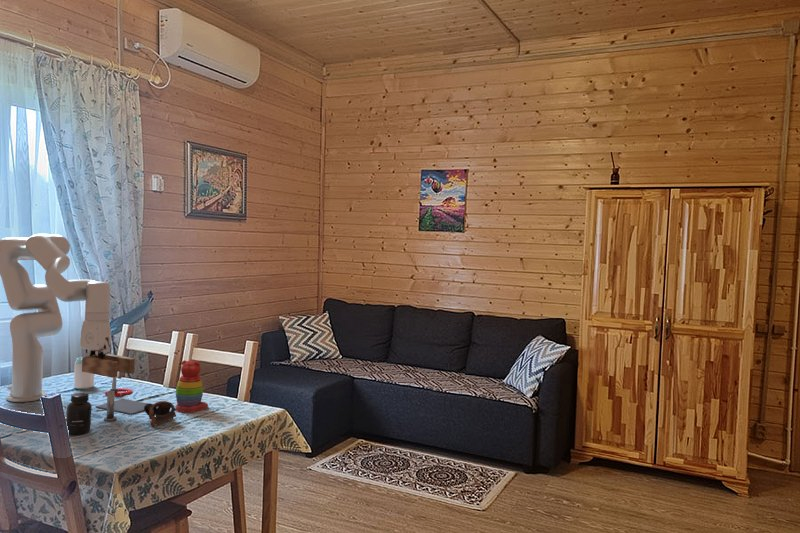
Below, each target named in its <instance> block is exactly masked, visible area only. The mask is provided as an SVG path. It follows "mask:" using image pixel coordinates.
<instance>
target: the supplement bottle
mask: <svg viewBox="0 0 800 533" xmlns="http://www.w3.org/2000/svg"><path fill="white" fill-rule="evenodd" d="M70 396H71V397H70V402H69V404H68V405H67V407H66V418H65V421H67V426H68V430H69V435H68V436H76V437H77V436H84V435H86V434H88V433H90V431H91V428H92V427H91V426H92V404H91V402H89V393H87V392H75V393H72V394H71V395H70Z"/></svg>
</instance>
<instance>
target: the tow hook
mask: <svg viewBox="0 0 800 533" xmlns="http://www.w3.org/2000/svg"><path fill="white" fill-rule="evenodd" d="M107 391H115V397H122V396H124V395H130V394H132V393H133V390H132V389H131V388H130V389H129V388H117V377H112V382H111V388H110V390H107ZM107 391H105V392H104V395H105V396H107ZM126 391H127V392H126Z"/></svg>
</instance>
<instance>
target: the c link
mask: <svg viewBox="0 0 800 533" xmlns="http://www.w3.org/2000/svg"><path fill="white" fill-rule="evenodd" d="M81 357H82V372H86V373H92V374H94V375H98V376H102V377H107V378H113V377H116V378H117V377H118V372H119V373H124V374H128V375H129V374H134V373H135V365H136V363H135V360H136V359H135V358H134V357H128V356H123V355H117V354H111V353H108V354H106V355H105V357H104V358H103V359H100V358H95V357H96V355H92V356H87V355H86V356H81Z"/></svg>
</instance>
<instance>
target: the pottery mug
mask: <svg viewBox="0 0 800 533" xmlns="http://www.w3.org/2000/svg"><path fill="white" fill-rule="evenodd" d="M147 403H148V402H147ZM144 410H145V411H144V412H145V414H146V415H147V416H148V417H149V418H148V419H149V420H150V426H151V427H154V428H155V426H156V425H161V424H164V423H168V422H169V421H171V420H174V418H176V417H177V414H176V411H177V410H176V406H175V405H174V404H173V403H172V402H170V401H167V400H166V401H165V400H160V401H157V402H155V403H150V402H149V403H148V404H146V405H145V406H144Z"/></svg>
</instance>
